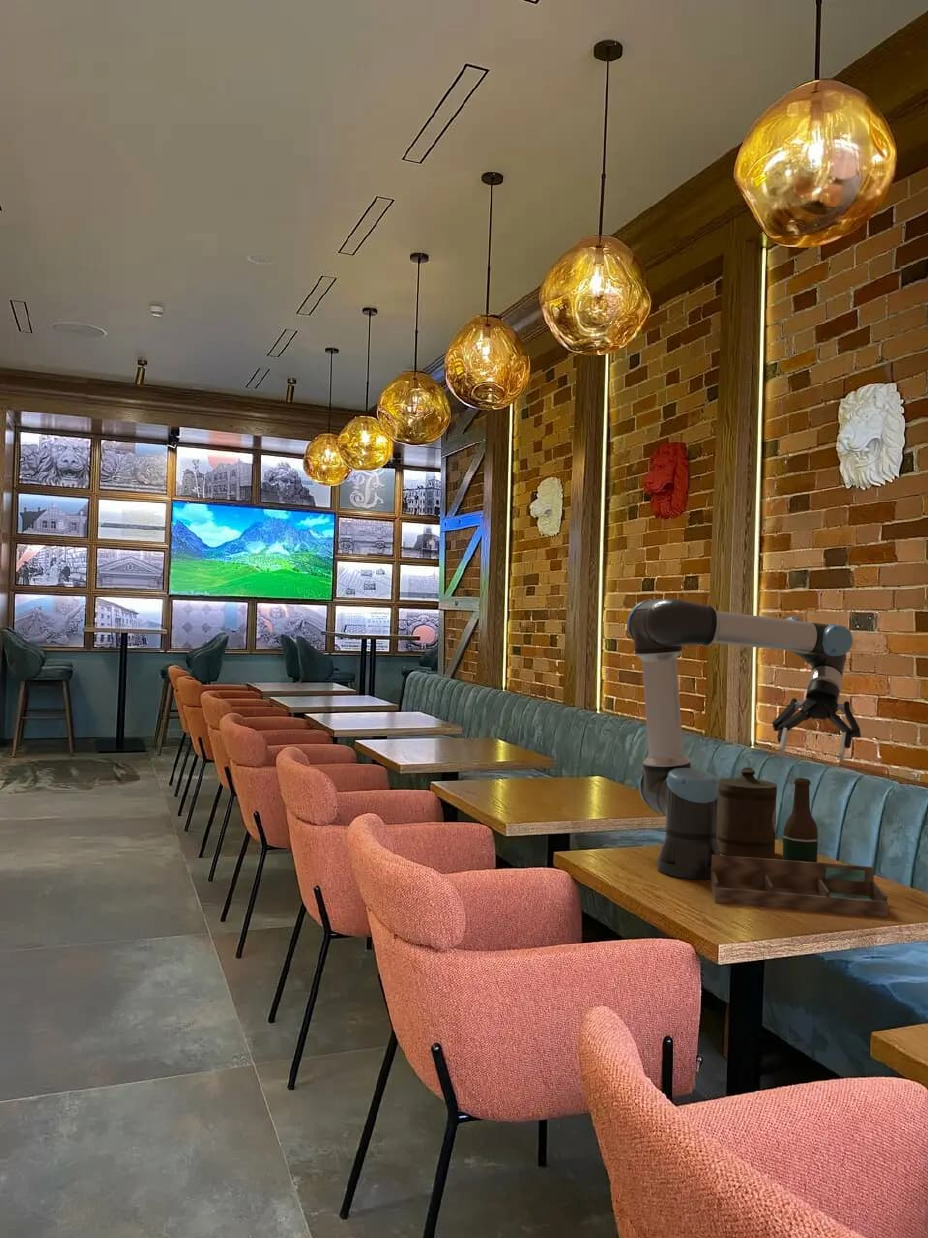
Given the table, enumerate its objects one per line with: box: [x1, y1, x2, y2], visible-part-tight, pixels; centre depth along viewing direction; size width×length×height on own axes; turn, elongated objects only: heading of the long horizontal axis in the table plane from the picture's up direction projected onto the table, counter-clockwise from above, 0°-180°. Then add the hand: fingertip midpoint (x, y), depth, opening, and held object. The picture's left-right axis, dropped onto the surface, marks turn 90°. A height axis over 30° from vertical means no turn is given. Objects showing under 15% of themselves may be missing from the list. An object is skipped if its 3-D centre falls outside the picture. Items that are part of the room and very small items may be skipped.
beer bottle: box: [782, 777, 819, 863], centre depth 212 cm, size 8×8×24 cm
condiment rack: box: [710, 854, 889, 918], centre depth 199 cm, size 34×13×7 cm, turn 79°
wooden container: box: [716, 766, 778, 859], centre depth 243 cm, size 15×15×22 cm
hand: (810, 754), depth 223 cm, fingers open, 13 cm apart
